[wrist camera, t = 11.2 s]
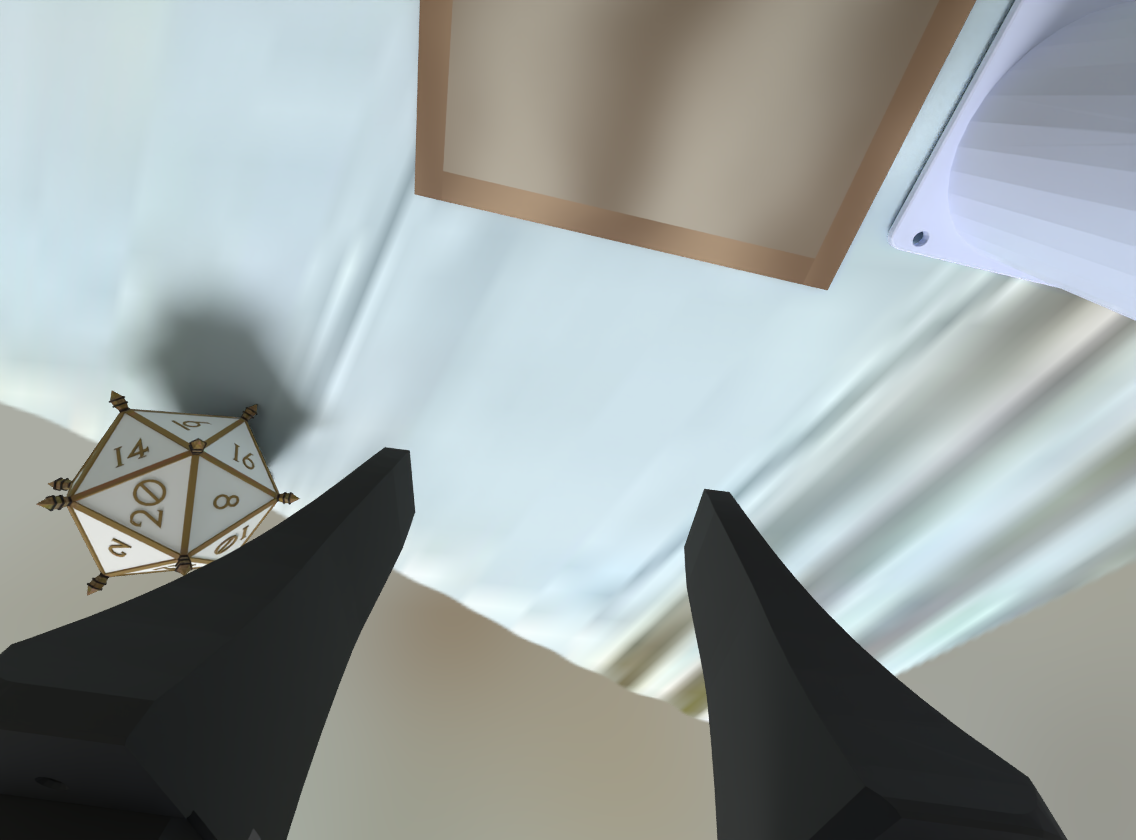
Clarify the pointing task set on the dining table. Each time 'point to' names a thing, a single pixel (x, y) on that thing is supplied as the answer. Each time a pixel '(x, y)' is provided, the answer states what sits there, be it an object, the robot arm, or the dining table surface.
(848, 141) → the shallow brown tray
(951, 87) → the dining table surface
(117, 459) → the game die
